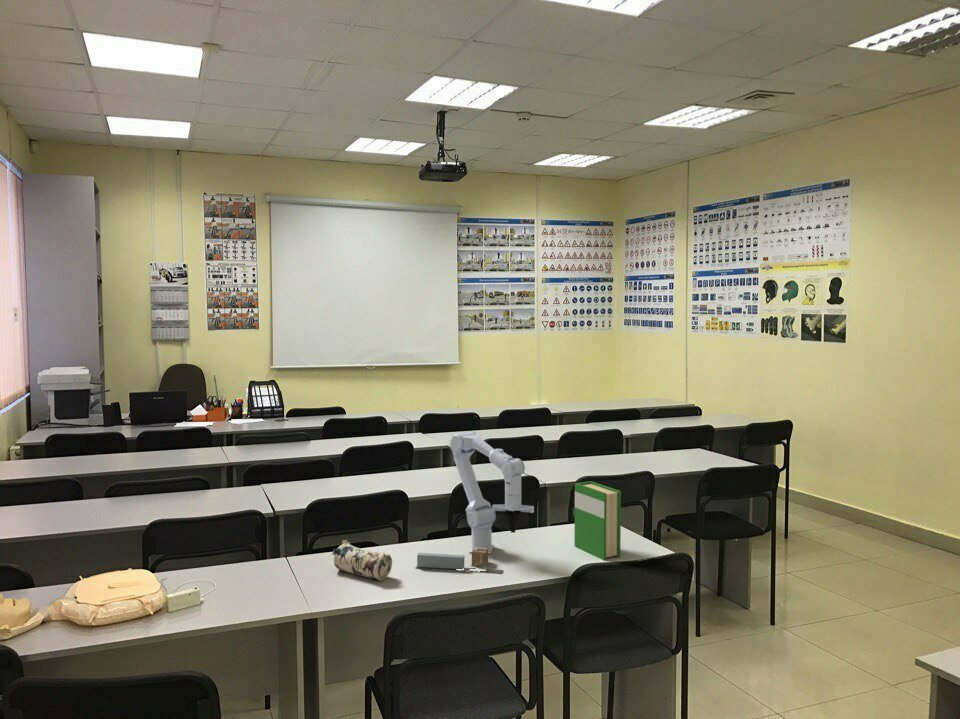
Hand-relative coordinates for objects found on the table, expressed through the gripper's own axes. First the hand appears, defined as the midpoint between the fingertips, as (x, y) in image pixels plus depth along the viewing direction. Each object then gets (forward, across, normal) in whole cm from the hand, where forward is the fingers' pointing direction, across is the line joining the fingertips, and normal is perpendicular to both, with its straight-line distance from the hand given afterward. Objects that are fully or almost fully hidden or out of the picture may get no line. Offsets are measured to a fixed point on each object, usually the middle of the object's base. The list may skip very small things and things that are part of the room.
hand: (513, 531), depth 254 cm
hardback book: (+11, +29, +15) cm, 34 cm away
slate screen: (+10, -23, -12) cm, 28 cm away
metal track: (+10, -17, -12) cm, 23 cm away
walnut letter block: (+10, -11, -5) cm, 16 cm away
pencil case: (+11, -48, -22) cm, 54 cm away
